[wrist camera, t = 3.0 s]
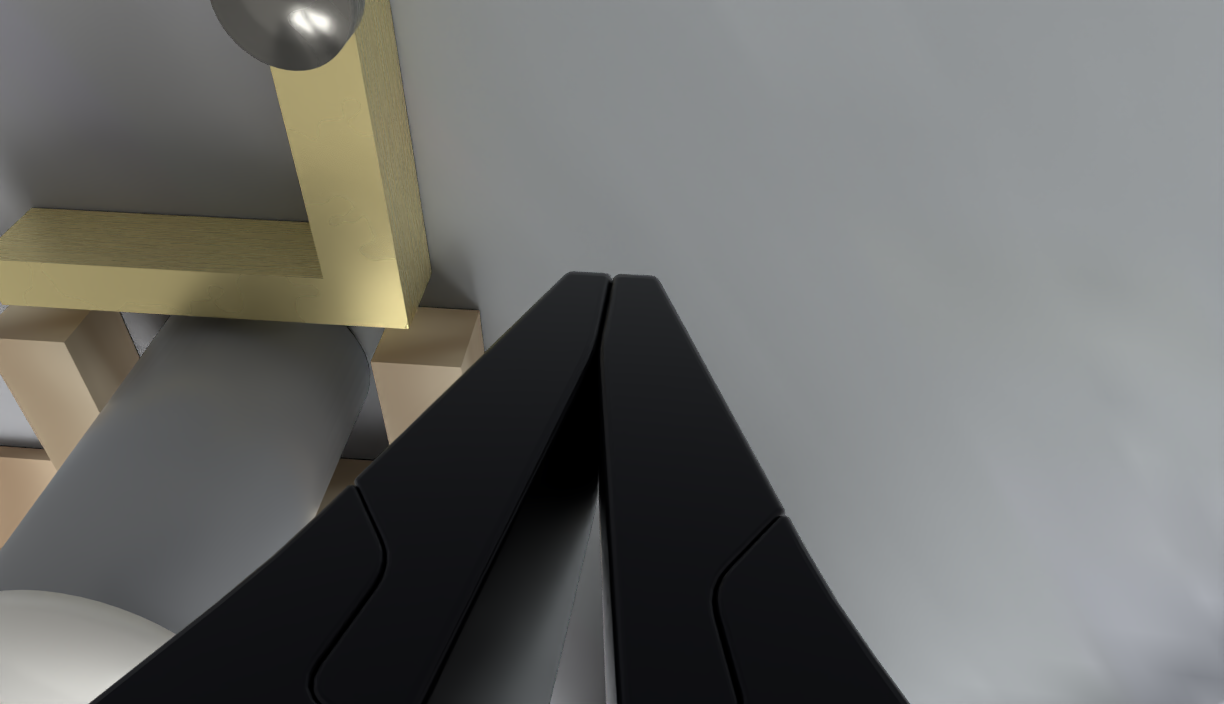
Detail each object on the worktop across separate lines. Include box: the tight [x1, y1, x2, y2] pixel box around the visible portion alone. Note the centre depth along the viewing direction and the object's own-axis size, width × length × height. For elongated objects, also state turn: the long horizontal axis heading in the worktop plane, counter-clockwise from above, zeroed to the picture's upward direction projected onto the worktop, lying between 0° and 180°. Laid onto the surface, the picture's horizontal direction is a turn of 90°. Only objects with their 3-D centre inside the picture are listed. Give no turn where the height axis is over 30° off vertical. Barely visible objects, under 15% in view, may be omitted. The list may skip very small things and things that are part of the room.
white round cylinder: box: [0, 315, 370, 704], centre depth 20 cm, size 5×5×9 cm
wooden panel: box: [0, 446, 57, 550], centre depth 29 cm, size 9×9×1 cm
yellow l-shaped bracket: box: [0, 0, 432, 329], centre depth 17 cm, size 9×9×3 cm
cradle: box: [0, 305, 484, 515], centre depth 24 cm, size 11×8×2 cm
